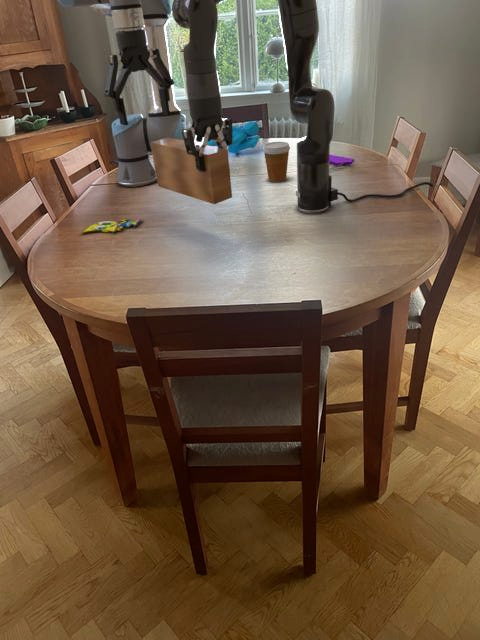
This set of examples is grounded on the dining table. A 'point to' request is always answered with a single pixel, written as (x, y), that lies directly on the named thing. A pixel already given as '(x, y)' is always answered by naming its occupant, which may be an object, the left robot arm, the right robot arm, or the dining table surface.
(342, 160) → the musical instrument
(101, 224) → the toy
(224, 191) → the box
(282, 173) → the disposable coffee cup
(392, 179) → the dining table surface
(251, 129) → the toy
